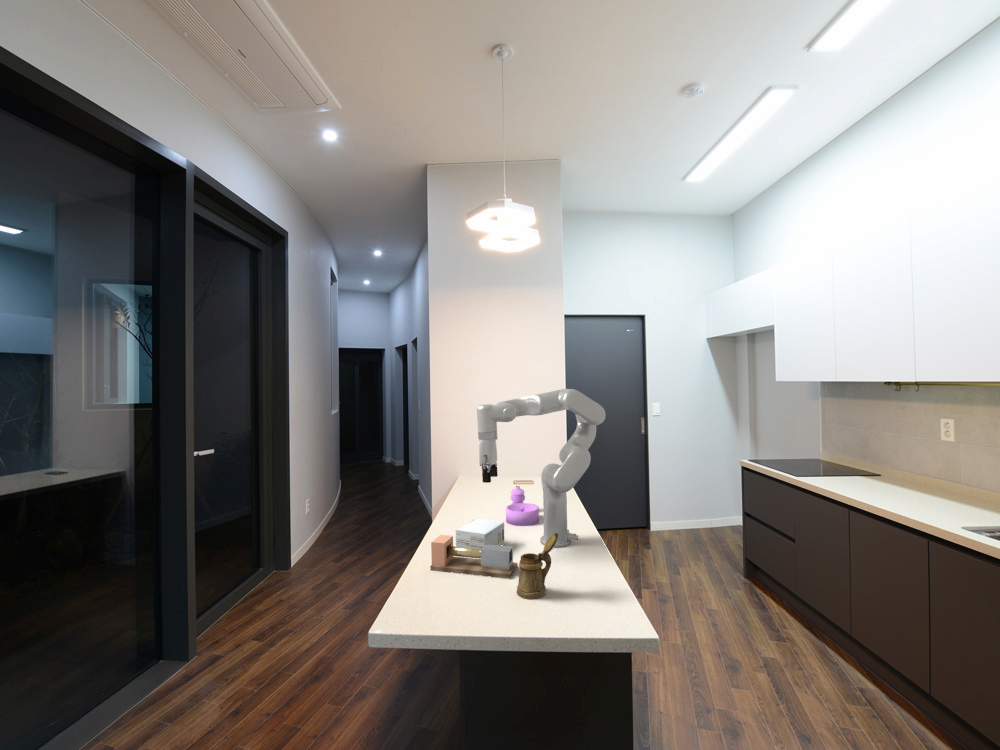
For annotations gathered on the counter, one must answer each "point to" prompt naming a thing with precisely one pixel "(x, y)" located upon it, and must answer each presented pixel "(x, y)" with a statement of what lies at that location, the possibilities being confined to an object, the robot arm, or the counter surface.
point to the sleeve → (497, 557)
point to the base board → (472, 568)
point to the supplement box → (480, 534)
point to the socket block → (441, 550)
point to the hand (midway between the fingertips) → (490, 479)
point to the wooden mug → (535, 571)
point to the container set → (521, 510)
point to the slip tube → (464, 552)
